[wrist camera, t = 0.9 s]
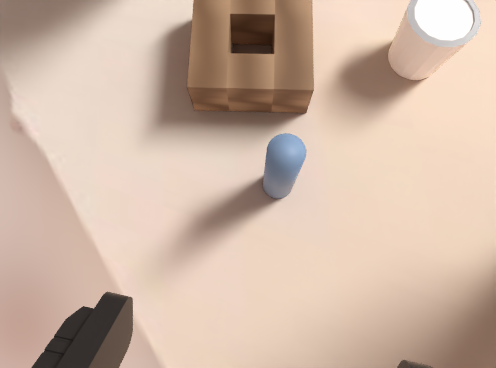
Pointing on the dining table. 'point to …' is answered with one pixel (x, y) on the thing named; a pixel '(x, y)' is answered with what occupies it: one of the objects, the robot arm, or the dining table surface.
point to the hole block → (251, 56)
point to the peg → (282, 164)
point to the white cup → (432, 35)
